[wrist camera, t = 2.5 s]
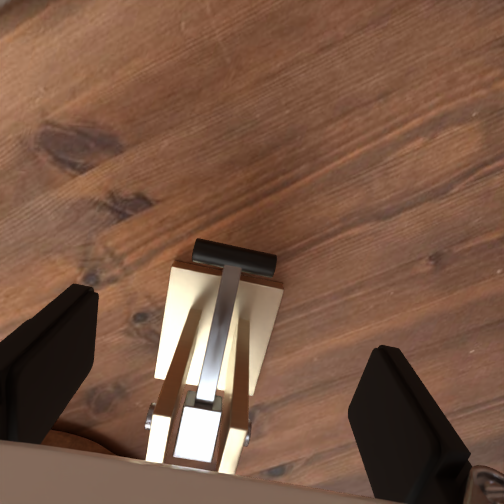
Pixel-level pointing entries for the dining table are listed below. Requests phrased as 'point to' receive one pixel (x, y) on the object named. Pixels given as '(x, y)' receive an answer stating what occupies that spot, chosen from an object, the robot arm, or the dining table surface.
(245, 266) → the switch lever
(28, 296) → the dining table surface
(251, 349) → the switch bracket
